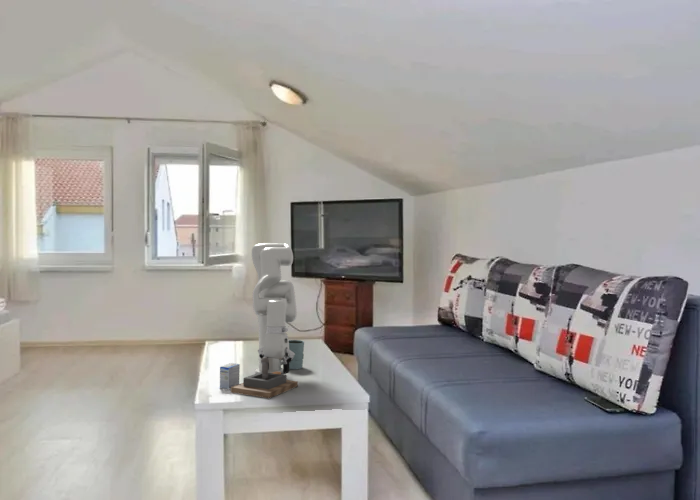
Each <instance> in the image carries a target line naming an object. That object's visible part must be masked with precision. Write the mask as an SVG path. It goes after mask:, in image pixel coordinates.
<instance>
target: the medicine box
mask: <svg viewBox="0 0 700 500" xmlns="http://www.w3.org/2000/svg"><path fill="white" fill-rule="evenodd" d="M240 367H241V364H239V363H237V362H236V363H234V362H230V363H227V364H224V365H221V366H220V367H219V388H220V389H225V390H231V387H233V386H235V385H238V384H240Z"/></svg>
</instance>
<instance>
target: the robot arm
mask: <svg viewBox="0 0 700 500" xmlns="http://www.w3.org/2000/svg"><path fill="white" fill-rule="evenodd" d="M251 258H252V259H251V261H252V264H253V267H254V269H255V271H256V273H257V283H256V284H255V286H254V288H253V290H252V308H253V312H254V314H255V315H256V316H257V324H258V349H257V353H258V368H256V369H255V370H254V374H257V373H260V372H262V363H261V359H262V358H263V357H267V358H268V359H269V363H268V373H273V372H281V374H282V375H286V374H289V373H290V369H289V363H290V362H291V361H292V360H293V357H294V355H295V353H294V352H292V351H291V350H289V340H290V339H289V336H288V333H286V332H288V329H289V328H287V327H286V323H292V322H295V320H296V319H297V313H298V312H297V303H296V295H295V293H296V292H295V287H294V283H293V282H292V281H290V280H286V279H283V280H282V269H281V267H289V266H290V267H291V266H292V264H293V262H294V253H293V250H292V248H291V246H290V245H289V244H288V243H284V242H282V243H281V242H278V243H277V242H276V243H275V242H263V243H257V244H254V245H253V246H252V248H251ZM289 355H290V357H289ZM288 357H289V358H288Z"/></svg>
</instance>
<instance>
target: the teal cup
mask: <svg viewBox="0 0 700 500" xmlns="http://www.w3.org/2000/svg"><path fill="white" fill-rule="evenodd" d="M288 340H289V350H291V351H292V352H294V353H295V355H294V357H293V360H292V361H291V362H290V363H289V370H301V369H302V368H303V363H304V360H303V359H304V352H305V351H304V349H305V341H304V340H300V339H299V340H298V339H288ZM289 357H290V355H289ZM289 357H288V358H289Z"/></svg>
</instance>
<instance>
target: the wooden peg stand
mask: <svg viewBox="0 0 700 500" xmlns="http://www.w3.org/2000/svg"><path fill="white" fill-rule="evenodd" d="M261 363H262V379H265V380H268V363H269V359H268V358H267V357H263V358H262V359H261ZM298 383H299V381H298V380H290V379H286V383H284V384H281V385H279V386H276V387H274V388H271V389H263V388H256V387H249V386H243V382H241V383H239V384H238V385H235V386H233V387H231V388H230V393H234V394H240V395H244V396H245V395H247V396H253V397H258V398H265V399H271V398H273V397H276V396H278V395H281V394H283V393H285V392H288V391H290V390H292V389H295V388H297V387H298V386H299V385H298Z"/></svg>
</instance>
